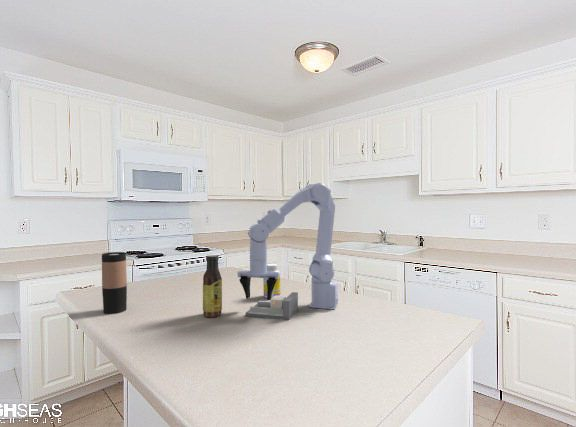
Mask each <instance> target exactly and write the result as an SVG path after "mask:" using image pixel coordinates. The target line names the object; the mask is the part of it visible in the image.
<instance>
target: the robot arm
mask: <svg viewBox="0 0 576 427" xmlns="http://www.w3.org/2000/svg"><path fill="white" fill-rule="evenodd" d="M331 192H332V191H331V189H330V188H329V187H328V186H327V185H326V184H325V183H323V182H317V183H311V184H307V185H305V187H303V188H302V189H300V190H299V191H297V192H296V193H295V194H294V195H293V196H292V197H291V198H290V199H288V200H287V201H286V202H285V203H284V204H283V205H282V206H281V207H280V208H278V209H276V208H273V209H269V210H267V214H266V215H265V216H263V217H262V218H261V219H257V221H256V222H257V223H255V224H254V223H253V224H252V225H251V226H250V227H249V230H248V231H247V234H248V237H249V238H250V239H249V244H250V245H249V270H239V271H237V278H239V282H240V284H241V286H242V289H243V291H244V296H245V299H246V300H248V299H250V298H251V279H252V278H253V279H254V278H258V279H263V278H269V279H268V280H266V282H267V290H268V292H267V298H266V299H267V301H270V299H271V296H272V291H273V288H274V285H275V283H276V281H277V279H279V278H280V279H281V272H280V271H279V272H271V271H267V264H268V262H267V260H268V259H267V258H268V256H267V254H268V253H267V239H268V238H269V235H270V234H271V233H272V232H274V231H275V230H276V229H278V227H280V225H282V224H283V223H284V222H285V217H286V216H287V215H289V214H290V213H291V212H293V210H295V209H296V208H297V207H299V206H300V205H302V204H303V203H308V202H309V203H312V204H313V205H314V206H315V207H316V208H317V209H318V210H319V217H318V228H317V237H316V238H317V239H316V246H315V254H314V255H313V257H312V261H311V263H310V265H309V267H308V271H309V273H310V276H311V280H310V281H311V302H310V303H309V304H308V308H313V309H314V308H316V309H326V310H327V309H329V310H335V309H336V308H337V306H338V304H339V297H338V295H339V294H338V293H339V290H338V289H339V287H338V286H339V285H338V282H337V281H332V280H333V279H334V276H335V270H334V264H333V263H334V262H333V259H332V256H331V252H332V242H333V241H332V240H333V234H334V233H333V232H334V231H333V230H334V221H335V212H336V204H335V202H334V200H333V197H332V194H331Z"/></svg>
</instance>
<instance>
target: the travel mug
mask: <svg viewBox="0 0 576 427" xmlns="http://www.w3.org/2000/svg"><path fill="white" fill-rule="evenodd" d="M127 275H128V274H127V252H126V251H125V252H123V251H114V252H105V253H102V254H101V289H102V290H101V291H102V292H101V294H102V309H103V313H104V314H106V315H115V314H120V313H123V312H126V311H127V303H128V302H127V300H128V296H127V294H128V283H127V282H128V281H127V280H128V277H127Z"/></svg>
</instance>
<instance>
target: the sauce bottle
mask: <svg viewBox="0 0 576 427" xmlns="http://www.w3.org/2000/svg"><path fill="white" fill-rule="evenodd" d="M205 257H206V270H205V272H204V274H203V277H202V281H203V282H202V312H203V317H205V318H216V317H220V316H221V315H222V311H223V310H222V309H223V278H222V275H221V273H220V270H219V258H220V256H219V255H218V254H209V255H206V256H205Z"/></svg>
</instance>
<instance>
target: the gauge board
mask: <svg viewBox="0 0 576 427" xmlns="http://www.w3.org/2000/svg"><path fill="white" fill-rule="evenodd" d="M298 310H299V292H295V291H294V292H293V291H292V292H290V294H289V295H288V296H286V299H285V300H284V301H283V309H276V308H270V300H267V301H266V300H258V301H257V303H256V304H255V305H253V306H250V307H249V309H248V311H246V312H245V317H253V318H254V317H255V318H256V317H257V318H263V319H264V318H265V319H275V320H288V321H290V320H291V318H293V316H294V315H295V314H296V312H298Z"/></svg>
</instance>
